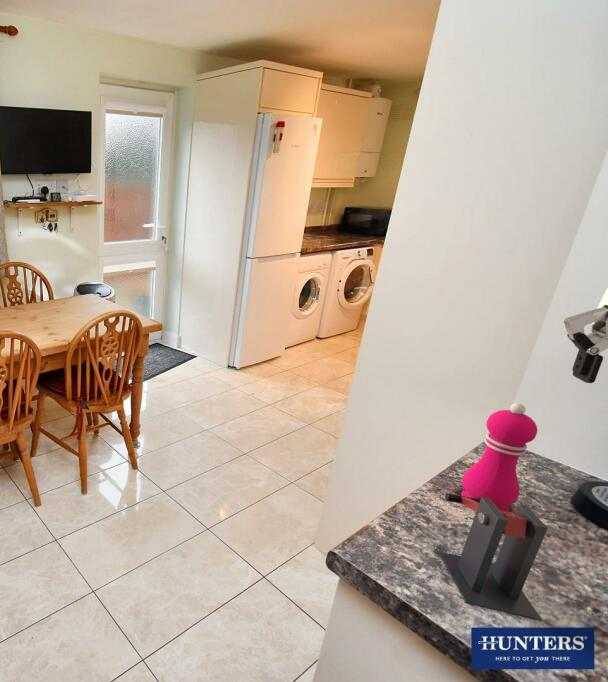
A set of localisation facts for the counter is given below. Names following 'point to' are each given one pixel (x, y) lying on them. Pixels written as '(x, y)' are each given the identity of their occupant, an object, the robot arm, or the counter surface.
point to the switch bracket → (510, 567)
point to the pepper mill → (501, 458)
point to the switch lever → (514, 523)
